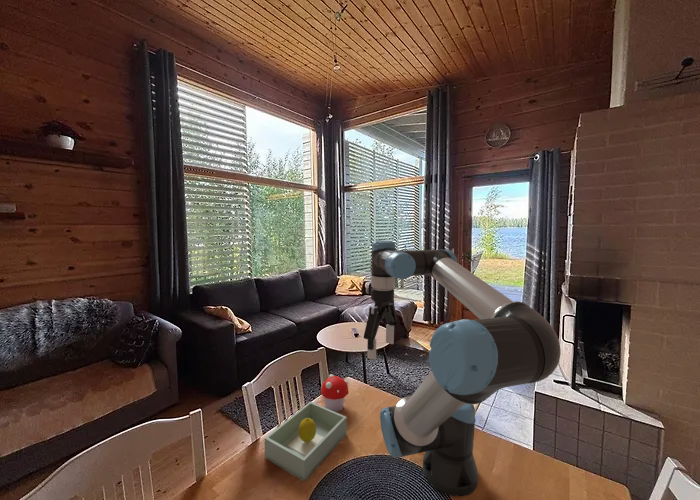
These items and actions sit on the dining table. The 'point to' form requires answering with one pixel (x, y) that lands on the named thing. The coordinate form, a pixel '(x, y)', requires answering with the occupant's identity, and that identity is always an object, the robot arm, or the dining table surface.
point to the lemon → (307, 430)
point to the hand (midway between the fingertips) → (381, 350)
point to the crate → (302, 455)
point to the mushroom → (334, 392)
